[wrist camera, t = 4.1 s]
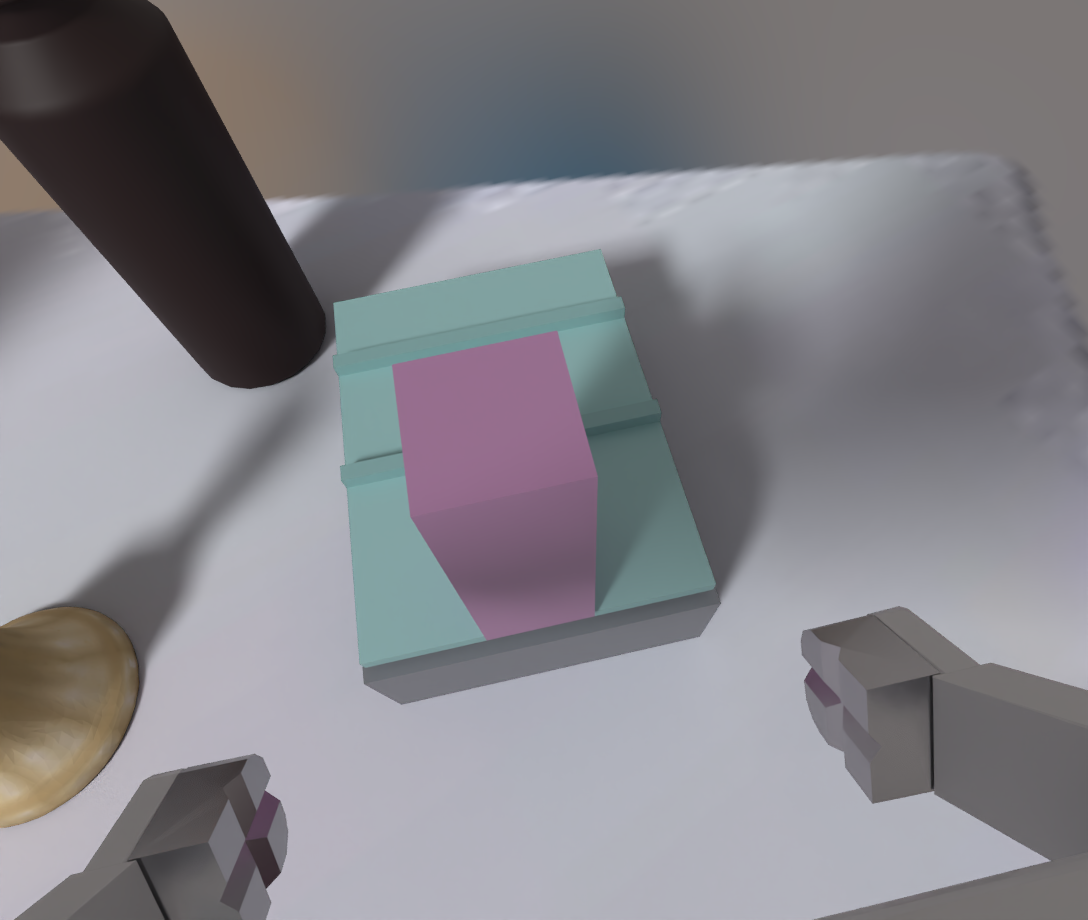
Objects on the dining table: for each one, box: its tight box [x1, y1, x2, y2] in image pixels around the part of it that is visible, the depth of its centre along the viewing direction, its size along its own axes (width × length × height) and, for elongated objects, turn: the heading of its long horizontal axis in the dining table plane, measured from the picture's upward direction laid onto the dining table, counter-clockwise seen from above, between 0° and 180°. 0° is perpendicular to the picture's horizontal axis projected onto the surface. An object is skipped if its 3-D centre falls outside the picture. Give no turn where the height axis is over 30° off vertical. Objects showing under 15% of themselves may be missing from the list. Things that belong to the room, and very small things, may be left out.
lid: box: [333, 249, 716, 668], centre depth 20 cm, size 15×12×11 cm
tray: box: [363, 587, 721, 704], centre depth 27 cm, size 16×12×5 cm
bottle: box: [0, 0, 325, 389], centre depth 26 cm, size 7×7×20 cm
